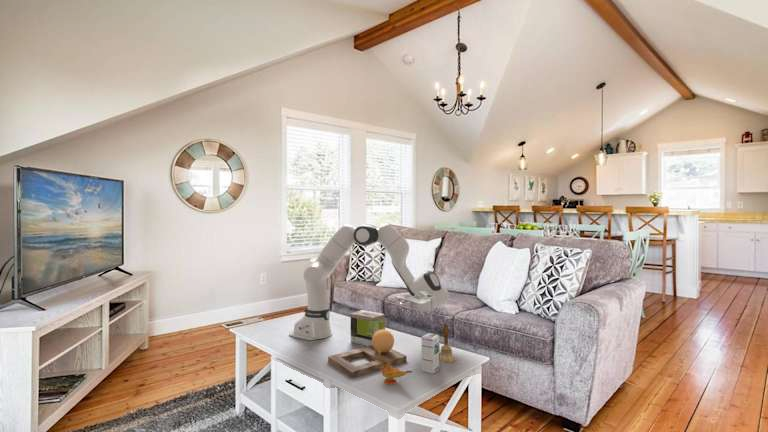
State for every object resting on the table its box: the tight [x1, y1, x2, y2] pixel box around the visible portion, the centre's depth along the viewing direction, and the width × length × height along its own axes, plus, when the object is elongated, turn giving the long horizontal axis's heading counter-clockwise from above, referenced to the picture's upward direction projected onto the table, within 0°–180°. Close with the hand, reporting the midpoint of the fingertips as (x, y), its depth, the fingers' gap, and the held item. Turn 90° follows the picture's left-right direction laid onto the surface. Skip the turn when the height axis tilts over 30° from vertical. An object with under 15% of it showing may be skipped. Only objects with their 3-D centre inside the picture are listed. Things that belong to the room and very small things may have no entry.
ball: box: [372, 329, 395, 353], centre depth 178 cm, size 10×10×10 cm
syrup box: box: [420, 332, 441, 374], centre depth 164 cm, size 6×6×14 cm
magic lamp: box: [377, 349, 413, 385], centre depth 153 cm, size 7×18×11 cm, turn 48°
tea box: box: [350, 309, 386, 347], centre depth 197 cm, size 15×10×15 cm
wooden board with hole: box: [327, 345, 408, 379], centre depth 173 cm, size 28×20×2 cm
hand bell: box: [440, 322, 457, 363], centre depth 176 cm, size 8×8×16 cm
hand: (399, 305), depth 182 cm, fingers closed
